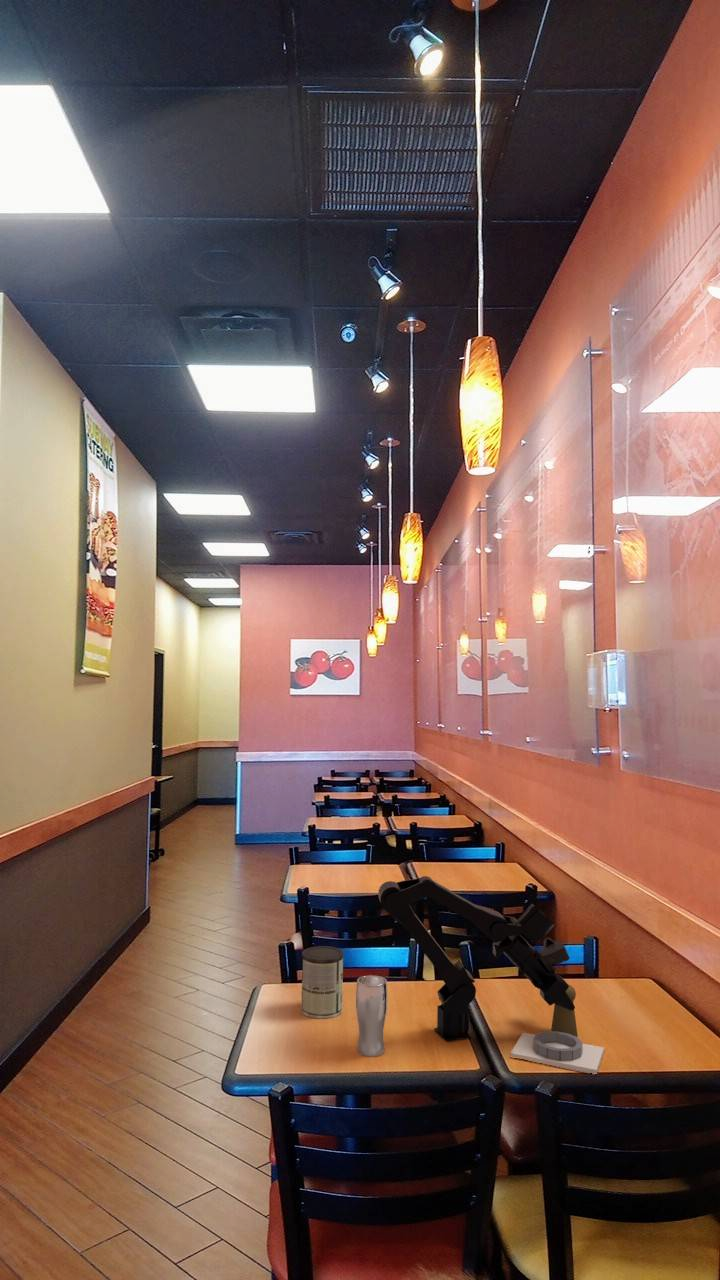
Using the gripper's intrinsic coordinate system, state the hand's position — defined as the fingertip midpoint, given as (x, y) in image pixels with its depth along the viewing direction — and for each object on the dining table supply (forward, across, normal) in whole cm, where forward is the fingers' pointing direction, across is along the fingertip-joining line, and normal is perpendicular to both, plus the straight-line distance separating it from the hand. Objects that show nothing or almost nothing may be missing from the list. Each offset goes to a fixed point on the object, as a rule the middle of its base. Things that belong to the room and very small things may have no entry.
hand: (570, 1004), depth 188 cm
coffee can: (-36, +14, +46) cm, 60 cm away
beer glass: (-28, -8, +38) cm, 48 cm away
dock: (0, -11, +9) cm, 14 cm away
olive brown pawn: (+4, 0, +6) cm, 7 cm away
